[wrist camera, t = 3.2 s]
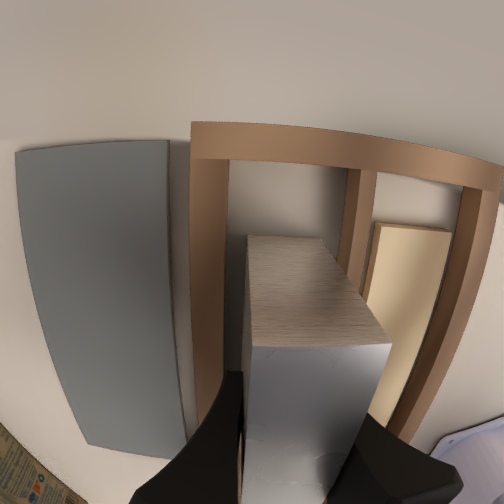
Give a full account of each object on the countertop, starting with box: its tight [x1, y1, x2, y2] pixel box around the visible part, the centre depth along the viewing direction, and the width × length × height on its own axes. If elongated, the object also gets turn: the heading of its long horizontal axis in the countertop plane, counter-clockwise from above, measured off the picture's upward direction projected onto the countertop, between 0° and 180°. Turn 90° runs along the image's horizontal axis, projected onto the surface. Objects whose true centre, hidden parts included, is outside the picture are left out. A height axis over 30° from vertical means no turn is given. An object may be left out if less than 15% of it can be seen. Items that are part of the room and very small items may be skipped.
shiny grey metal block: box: [238, 235, 392, 504], centre depth 11 cm, size 3×11×7 cm, turn 177°
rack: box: [189, 122, 504, 504], centre depth 11 cm, size 12×19×6 cm, turn 177°
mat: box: [15, 140, 188, 459], centre depth 14 cm, size 7×18×1 cm, turn 177°
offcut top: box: [362, 223, 452, 427], centre depth 14 cm, size 4×13×1 cm, turn 177°
